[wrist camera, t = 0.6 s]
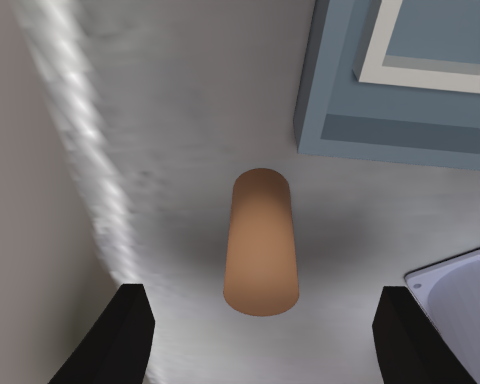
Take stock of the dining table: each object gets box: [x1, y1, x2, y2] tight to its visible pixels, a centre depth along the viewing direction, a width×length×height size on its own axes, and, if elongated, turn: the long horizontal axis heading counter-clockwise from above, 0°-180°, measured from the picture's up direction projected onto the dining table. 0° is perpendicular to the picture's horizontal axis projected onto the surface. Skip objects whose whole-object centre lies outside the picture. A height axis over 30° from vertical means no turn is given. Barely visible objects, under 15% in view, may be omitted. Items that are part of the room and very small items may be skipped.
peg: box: [223, 168, 299, 316], centre depth 19 cm, size 3×3×7 cm
